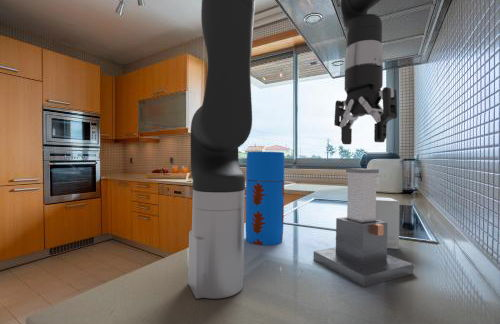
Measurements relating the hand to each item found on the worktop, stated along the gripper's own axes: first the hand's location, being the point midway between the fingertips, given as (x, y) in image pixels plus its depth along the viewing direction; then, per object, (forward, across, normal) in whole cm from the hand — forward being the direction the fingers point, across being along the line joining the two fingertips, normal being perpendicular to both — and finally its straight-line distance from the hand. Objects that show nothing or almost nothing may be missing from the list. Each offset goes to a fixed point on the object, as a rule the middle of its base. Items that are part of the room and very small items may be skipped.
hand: (362, 143), depth 56 cm
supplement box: (+27, -9, +18) cm, 34 cm away
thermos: (+27, -25, -10) cm, 38 cm away
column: (+24, 0, 0) cm, 24 cm away
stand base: (+27, 0, 0) cm, 27 cm away
